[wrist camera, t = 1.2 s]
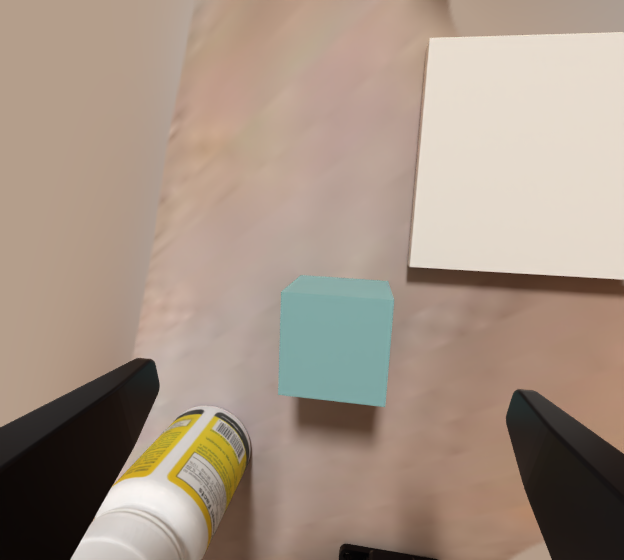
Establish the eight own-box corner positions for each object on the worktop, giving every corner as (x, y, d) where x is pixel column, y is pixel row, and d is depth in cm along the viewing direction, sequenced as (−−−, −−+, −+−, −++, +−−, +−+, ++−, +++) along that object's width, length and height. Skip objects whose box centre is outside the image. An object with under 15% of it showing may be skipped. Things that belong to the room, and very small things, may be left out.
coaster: (628, 277, 18) (642, 280, 17) (407, 264, 20) (409, 266, 19) (673, 41, 17) (693, 30, 16) (426, 47, 18) (429, 38, 17)
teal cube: (381, 364, 21) (385, 407, 16) (298, 355, 22) (278, 394, 17) (387, 280, 20) (393, 300, 16) (301, 275, 21) (281, 291, 16)
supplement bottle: (169, 466, 25) (43, 622, 15) (178, 393, 24) (48, 511, 14) (246, 489, 24) (166, 666, 14) (259, 415, 23) (181, 554, 13)
